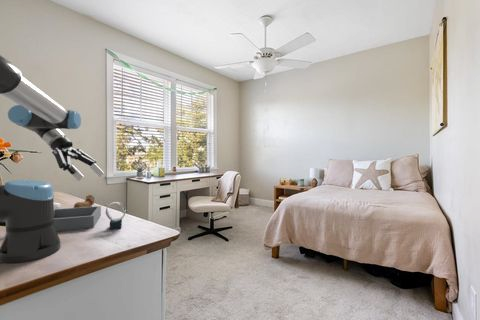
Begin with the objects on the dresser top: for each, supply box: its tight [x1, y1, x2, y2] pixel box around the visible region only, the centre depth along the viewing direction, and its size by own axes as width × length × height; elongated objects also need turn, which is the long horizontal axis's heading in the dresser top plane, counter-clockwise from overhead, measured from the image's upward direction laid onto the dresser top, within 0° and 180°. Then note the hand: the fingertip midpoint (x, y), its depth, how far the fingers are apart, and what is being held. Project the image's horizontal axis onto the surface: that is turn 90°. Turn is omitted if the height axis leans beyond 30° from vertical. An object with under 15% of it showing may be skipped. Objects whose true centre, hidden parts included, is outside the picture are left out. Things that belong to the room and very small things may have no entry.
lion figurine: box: [73, 194, 95, 208], centre depth 125 cm, size 15×5×9 cm, turn 178°
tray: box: [54, 205, 102, 232], centre depth 108 cm, size 20×20×5 cm
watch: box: [105, 201, 127, 231], centre depth 103 cm, size 6×8×11 cm
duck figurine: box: [53, 201, 62, 209], centre depth 123 cm, size 12×8×11 cm
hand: (92, 176), depth 104 cm, fingers open, 13 cm apart
